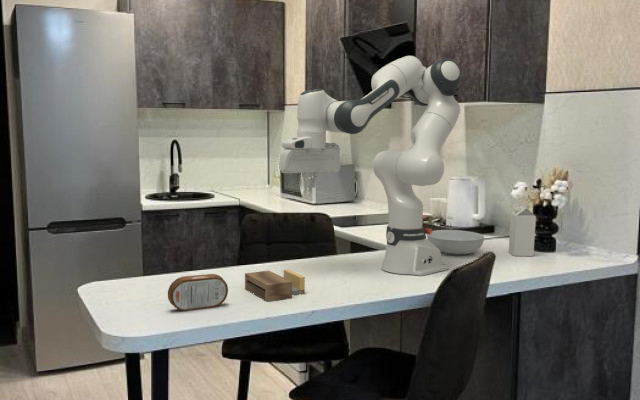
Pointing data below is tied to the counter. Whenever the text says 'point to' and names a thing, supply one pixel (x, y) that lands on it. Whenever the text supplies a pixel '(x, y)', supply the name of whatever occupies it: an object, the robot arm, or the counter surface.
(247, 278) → the overhang shelf
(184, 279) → the tin
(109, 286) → the counter surface
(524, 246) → the milk carton
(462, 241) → the serving bowl
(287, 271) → the grey board with lip
